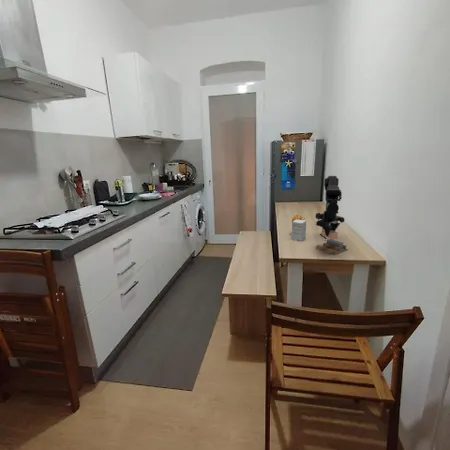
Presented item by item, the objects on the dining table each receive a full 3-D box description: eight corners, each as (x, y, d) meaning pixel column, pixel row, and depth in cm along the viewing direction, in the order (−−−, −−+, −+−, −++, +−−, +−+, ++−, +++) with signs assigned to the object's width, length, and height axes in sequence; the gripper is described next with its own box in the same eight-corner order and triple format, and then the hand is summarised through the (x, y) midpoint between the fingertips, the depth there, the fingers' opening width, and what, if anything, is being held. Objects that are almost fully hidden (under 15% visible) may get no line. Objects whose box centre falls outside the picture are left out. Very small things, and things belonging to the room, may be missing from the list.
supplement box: (295, 236, 181) (296, 219, 178) (305, 238, 177) (306, 220, 174) (290, 239, 176) (291, 221, 173) (301, 241, 171) (302, 223, 168)
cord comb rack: (315, 248, 158) (315, 244, 157) (328, 244, 164) (328, 240, 164) (334, 255, 147) (334, 251, 146) (347, 250, 154) (348, 246, 153)
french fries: (291, 236, 183) (292, 215, 179) (290, 232, 190) (291, 212, 186) (304, 236, 181) (305, 215, 177) (303, 232, 189) (304, 212, 185)
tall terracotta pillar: (321, 235, 156) (322, 228, 155) (326, 234, 157) (327, 228, 156) (332, 239, 147) (332, 233, 146) (337, 239, 148) (337, 232, 147)
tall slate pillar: (326, 246, 160) (326, 239, 159) (329, 244, 162) (330, 238, 161) (339, 250, 153) (339, 243, 152) (342, 248, 155) (343, 242, 153)
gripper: (329, 205, 159) (327, 229, 163) (309, 209, 149) (307, 235, 153) (346, 208, 150) (343, 233, 154) (325, 212, 140) (323, 240, 144)
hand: (329, 235), depth 152 cm, fingers closed on tall terracotta pillar, 4 cm apart
